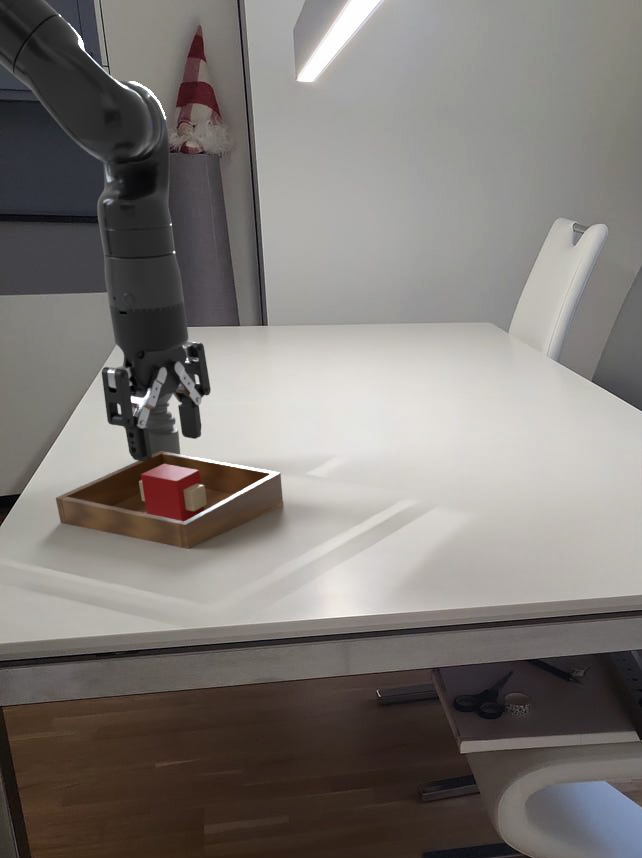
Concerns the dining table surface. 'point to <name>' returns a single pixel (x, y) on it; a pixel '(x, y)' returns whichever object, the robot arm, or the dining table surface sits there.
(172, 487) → the red and beige block
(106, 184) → the robot arm
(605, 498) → the dining table surface
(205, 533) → the wooden tray
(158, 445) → the candle holder
